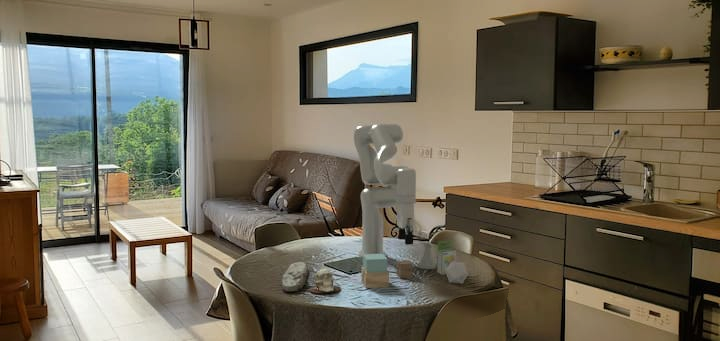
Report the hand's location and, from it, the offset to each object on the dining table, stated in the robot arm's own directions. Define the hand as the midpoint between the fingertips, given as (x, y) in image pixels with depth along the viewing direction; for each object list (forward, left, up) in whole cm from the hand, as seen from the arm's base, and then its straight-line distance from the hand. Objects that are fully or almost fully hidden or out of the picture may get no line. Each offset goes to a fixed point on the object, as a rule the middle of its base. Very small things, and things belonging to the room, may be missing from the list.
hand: (405, 241), depth 236 cm
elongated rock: (-3, -44, -15) cm, 46 cm away
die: (+11, +18, -15) cm, 25 cm away
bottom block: (+8, -14, -15) cm, 22 cm away
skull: (+12, -34, -15) cm, 39 cm away
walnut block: (0, 0, -15) cm, 14 cm away
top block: (+8, -14, -9) cm, 18 cm away
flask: (-11, +13, -15) cm, 23 cm away
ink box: (-1, +18, -15) cm, 23 cm away
